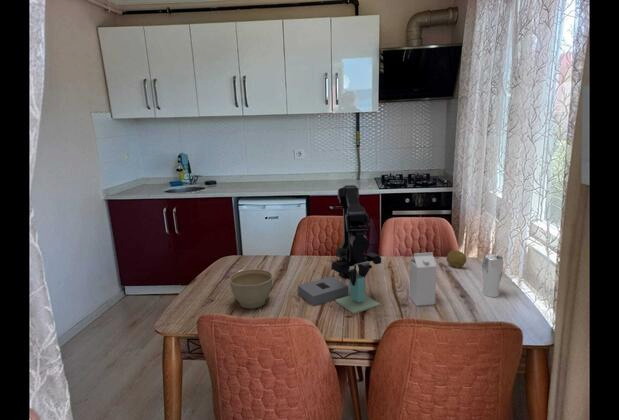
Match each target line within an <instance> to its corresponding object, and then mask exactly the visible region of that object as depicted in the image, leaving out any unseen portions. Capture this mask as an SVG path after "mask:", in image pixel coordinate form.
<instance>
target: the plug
mask: <svg viewBox="0 0 619 420" xmlns="http://www.w3.org/2000/svg"><path fill="white" fill-rule="evenodd" d="M365 285H366V284H365V278H364V277H363V276H361V275H359V273H357V274H356V282H355V286H353V285H352V283H351V280H350V279H349V295H350V297H351V298H352V299H354V300H355V301H357V302H361V301H364V300H365V295H366V288H365Z"/></svg>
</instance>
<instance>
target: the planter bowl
mask: <svg viewBox="0 0 619 420" xmlns="http://www.w3.org/2000/svg"><path fill="white" fill-rule="evenodd" d="M243 270H244V269H243ZM239 271H240V270H239ZM273 278H274V277H273V273H272V272H270V271H268V270H264V269H258V268H253V269H245V270H244V271H240V272H238V271H237V272H235V273H233V274H232V275H230V277H229V279H228V280H229V283H230V290H231V292H232V295H233V296H234V298H235V299H236V300H237V302H238V303H239V305H240V307H242V308H245V309H252V310H253V309H256V308H260V307H263V306H264V305H265V304H266V300H267V299H268V297H269V295H270V293H271V291H272V288H273V287H272V286H273Z"/></svg>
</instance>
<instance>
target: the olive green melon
mask: <svg viewBox="0 0 619 420" xmlns="http://www.w3.org/2000/svg"><path fill="white" fill-rule="evenodd" d="M446 262H447V263H448V264H449V265H450V266H452V267H453V266H454V267H453V268H455V267H459V268H458V269H460V268H462V267H463V266H465V264H466V262H467V257H466V255H465V253H464V252H462V251H460V250H455V249H454V250H450V251H449V252H448V253H447V256H446Z"/></svg>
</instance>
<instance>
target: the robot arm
mask: <svg viewBox="0 0 619 420" xmlns="http://www.w3.org/2000/svg"><path fill="white" fill-rule="evenodd" d="M359 198H360V189H359V188H358V186H357V185H355V184H353V185H350V184H348V185H344V186H343V187H340V188H338V190H337V199H338V201H339V204H340V205H341V208H342V209H343V210H342V212H343V213H342V216H343V217H342V218H343V221H342V223H343V226H342V227H343V229H342V230H343V241H342V242H341V243H340V247H339V248H335V254H336V257H337V260H334V261H333V262H331V270H333V271H334V272H337V273H338V275H339V276H340V277H343V278H344V279H346V280H347V279H349V281H350V280H351V283H352V285H353V286H355V282H356V274H359V275H361V276H363V277H364V279H365V278H366V277H367V275H368V273H369V271H370V270H371V268H373V265H372V264H371V262H372V263H373V264H374V265H379V264H382V257H381V255H380V254H377V253H374V252H372V251H371V252H368V253H366V252H367V251H368V250H369V248H370V242H369V239H368V237H367V236H366V232H370V229H371V223H370V222H371V221H370V216H369V214H368V212H366V209H365V208H364V206H362V205H361V204H360V201H359ZM357 267H358V271H357Z"/></svg>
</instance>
